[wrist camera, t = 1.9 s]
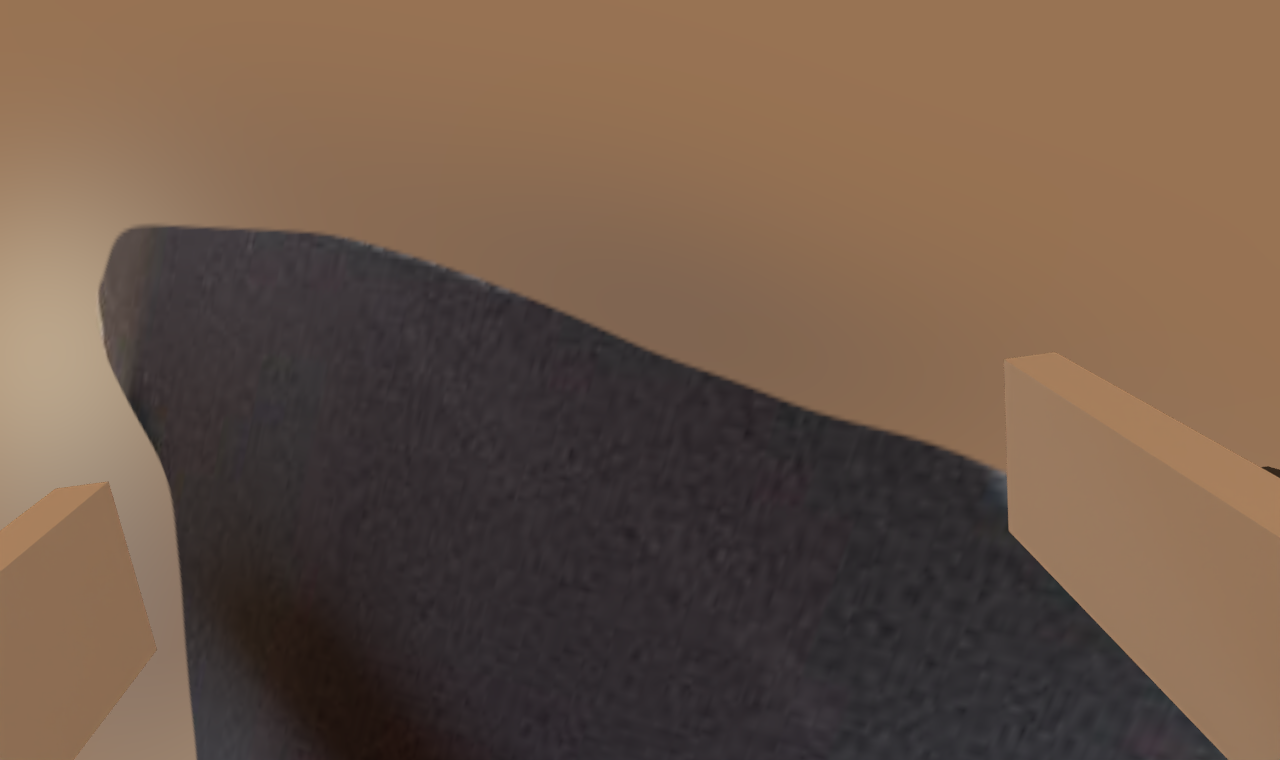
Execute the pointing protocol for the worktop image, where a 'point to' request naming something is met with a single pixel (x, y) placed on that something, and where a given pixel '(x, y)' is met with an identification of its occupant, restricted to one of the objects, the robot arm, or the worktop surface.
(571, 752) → the worktop surface
